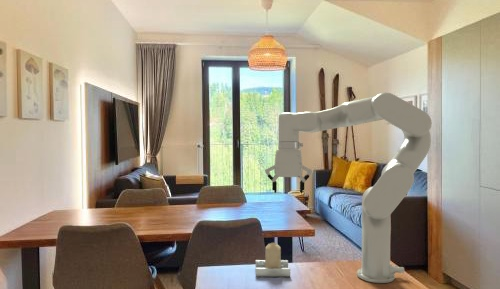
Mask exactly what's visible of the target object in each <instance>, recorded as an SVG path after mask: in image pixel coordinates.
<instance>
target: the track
mask: <svg viewBox="0 0 500 289" xmlns="http://www.w3.org/2000/svg"><path fill="white" fill-rule="evenodd" d="M255 278H257V279H260V278H264V279H266V278H269V279H270V278H271V279H274V278H275V279H277V278H278V279H281V278H282V279H283V278H285V279H287V278H288V279H291V268H290V267H289V260H287V259H285V260H284V259H281V268H265V259H255Z"/></svg>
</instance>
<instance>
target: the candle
mask: <svg viewBox="0 0 500 289" xmlns="http://www.w3.org/2000/svg"><path fill="white" fill-rule="evenodd" d="M264 249H265V252H264V254H265V255H264V256H265V259H264V260H265V268H281V260H282V259H281V257H282V256H281V254H282V248H281V246H280V245H279V244H278V243H276V242H271V243H268V244H267V245H266V246H265V248H264Z"/></svg>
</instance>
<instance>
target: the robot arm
mask: <svg viewBox="0 0 500 289" xmlns="http://www.w3.org/2000/svg"><path fill="white" fill-rule="evenodd" d="M382 120H385V121H386V122H387V123H389V124H391V125H392V126H394V127H396V128H397V129H399V130H401V131H402V133H403V135H404V136H403V137H404V138H403V141H402V143H401V145H400V147H398V150H397V151H396V153H395V154H394V155H393V156H392V158H391V159H390V160H389V161H388V163H387V164H385V166H383V168H382V170H381V175H380V177H378V179H377V181H376V182H375V184H373V186H369V187H368V188H367V189H365V191H364V192H363V193H362V197H361V268H358V269H357V270H356V276H357V277H358V278H359V279H362V280H363V281H366V282H369V283H376V284H387V283H388V284H389V283H391V282H393V281H395V279H396V275H395V274H396V273H397V274H405V267H403V266H398V265H395V264H394V265H392V264H391V233H392V232H391V231H392V226H391V225H392V223H391V220H392V218H391V215H392V213H393V212H394V211H395V209H396V208H397V207H398V206H399V204H400V203H401V202H402V201H403V199H405V197H406V196H407V194H408V193H409V191H410V190H411V189H412V187H413V185H414V182H415V175H414V174H415V172H416V171H417V169H418V168H419V167H420V166H421V165H422V163H423V161H424V160H425V158H426V157H427V155H428V154H429V151H430V149H431V141H432V140H431V137H432V136H431V132H430V130H431V128H432V119H431V116H430V115H429V114H428V113H427V112H426V111H425V110H423V109H421V108H420V107H417V106H416V105H414V104H411V103H409V102H407V101H406V100H404V99H403V98H401V97H399V96H397V95H395V94H393V93H391V92H381V93H378V94H377V95H374V96H371V97H366V98H361V99H358V100H357V99H355V100H350V101H346V102H343V103H342V104H340V105H338V106H335V107H333V108H329V109H324V110H321V111H314V112H313V111H304V112H303V111H302V112H282V113H280V114H279V115H278V136H277V137H278V138H277V140H278V145H277V146H278V149H276V151H275V156H274V165H272V166H270V167H268V168H266V169H264V172H265V174H266V176H267V178H268V179H270V181H271V183H272V191H273V192H274V194H276V193H278V192H277V188H278V187H277V186H278V185H277V184H278V182H277V180H278V179H279V178H299V179H300V181H299V192H300V194H303V193H304V191H305V182H306V181H307V180H308V179H309V178H310V176H311V174H312V172H313V170H312V169H311V168H309V167H307V166H305V165H303V157H302V151H301V150H302V149H300V148H301V147H302V148H303V146H304V144H303V143H302V142H300V141H299V139H300V132H301V133H308V134H309V133H310V134H311V133H312V134H313V133H318V132H324V131H327V130H333V129H337V128H348V127H351V126H352V127H353V126H357V125H362V124H363V125H364V124H366V123H372V122H376V121H377V122H378V121H382ZM273 170H274V176H272V175H271V173H270V172H271V171H273ZM303 170H304V171H306V174H305V175H304V176H303Z"/></svg>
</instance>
